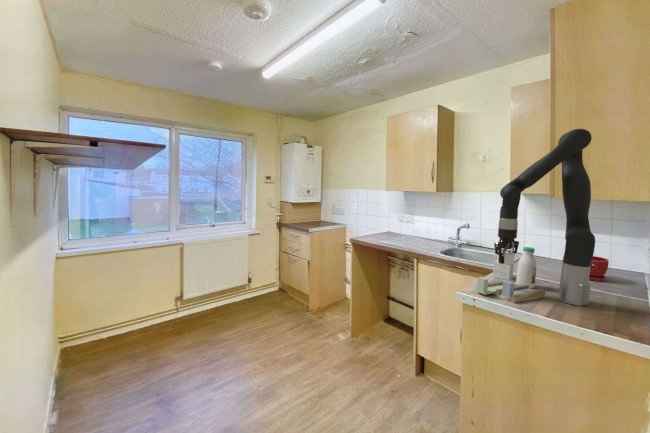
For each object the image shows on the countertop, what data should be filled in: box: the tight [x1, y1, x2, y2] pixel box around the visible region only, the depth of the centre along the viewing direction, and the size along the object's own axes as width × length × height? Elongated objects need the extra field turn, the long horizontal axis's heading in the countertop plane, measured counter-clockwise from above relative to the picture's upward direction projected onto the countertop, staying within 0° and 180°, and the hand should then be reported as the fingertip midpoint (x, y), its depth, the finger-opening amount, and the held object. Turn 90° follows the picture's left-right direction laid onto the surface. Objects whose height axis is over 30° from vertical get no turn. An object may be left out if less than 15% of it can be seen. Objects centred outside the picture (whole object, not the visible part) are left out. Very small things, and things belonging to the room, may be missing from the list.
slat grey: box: [500, 280, 536, 299], centre depth 130 cm, size 5×19×7 cm, turn 110°
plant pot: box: [589, 255, 610, 282], centre depth 157 cm, size 13×13×12 cm
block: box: [497, 251, 516, 265], centre depth 134 cm, size 5×5×5 cm
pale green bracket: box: [475, 276, 503, 295], centre depth 134 cm, size 5×19×7 cm, turn 110°
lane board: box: [488, 279, 546, 304], centre depth 134 cm, size 16×20×3 cm
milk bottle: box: [515, 246, 537, 289], centre depth 143 cm, size 8×8×20 cm
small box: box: [492, 253, 515, 281], centre depth 156 cm, size 8×6×13 cm
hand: (505, 262), depth 135 cm, fingers closed on block, 5 cm apart
